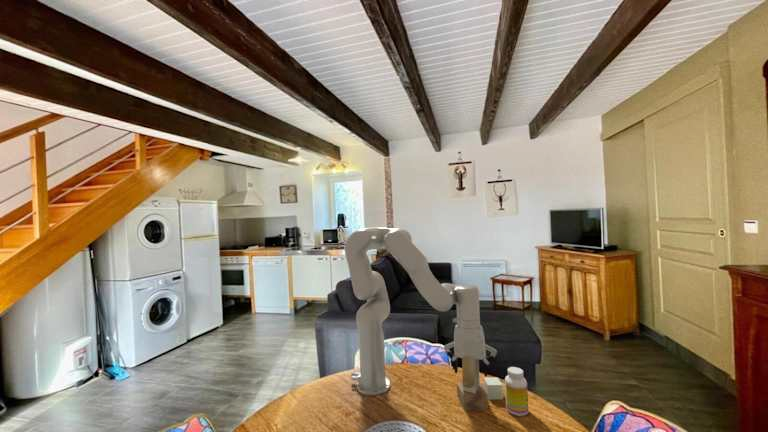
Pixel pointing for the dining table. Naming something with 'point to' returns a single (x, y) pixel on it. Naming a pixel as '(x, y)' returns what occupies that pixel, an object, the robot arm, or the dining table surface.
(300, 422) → the dining table surface
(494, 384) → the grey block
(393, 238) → the robot arm
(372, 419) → the dining table surface
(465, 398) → the walnut block
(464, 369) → the skincare box
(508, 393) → the supplement bottle
